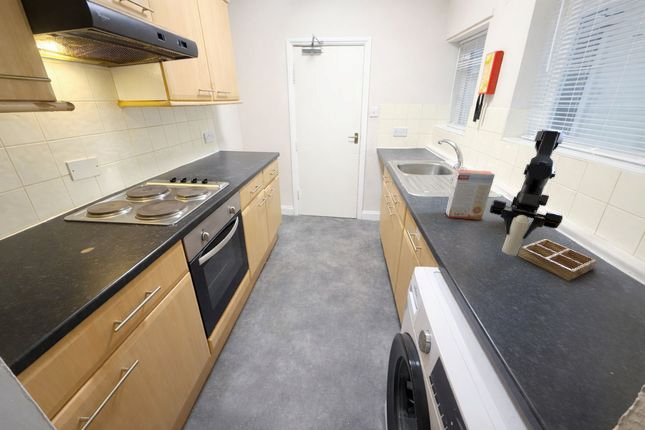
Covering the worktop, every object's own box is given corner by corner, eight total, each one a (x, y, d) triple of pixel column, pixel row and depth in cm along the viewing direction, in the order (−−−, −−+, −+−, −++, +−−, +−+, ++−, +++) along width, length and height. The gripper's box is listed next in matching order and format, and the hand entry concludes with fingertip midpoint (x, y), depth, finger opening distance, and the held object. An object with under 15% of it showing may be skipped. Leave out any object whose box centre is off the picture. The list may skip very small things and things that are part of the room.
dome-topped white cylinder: (506, 247, 91) (520, 211, 86) (520, 253, 88) (535, 217, 82) (498, 250, 90) (512, 213, 84) (512, 256, 86) (526, 219, 80)
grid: (542, 246, 97) (545, 238, 96) (592, 268, 85) (597, 260, 84) (517, 255, 91) (521, 247, 90) (568, 280, 79) (573, 271, 78)
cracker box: (476, 215, 121) (490, 170, 113) (481, 220, 116) (496, 174, 107) (444, 212, 124) (455, 168, 115) (447, 217, 118) (459, 172, 109)
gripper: (500, 176, 87) (484, 218, 84) (575, 189, 76) (560, 237, 73) (496, 193, 96) (482, 230, 93) (563, 206, 85) (549, 249, 82)
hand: (515, 236), depth 85 cm, fingers closed on dome-topped white cylinder, 4 cm apart
